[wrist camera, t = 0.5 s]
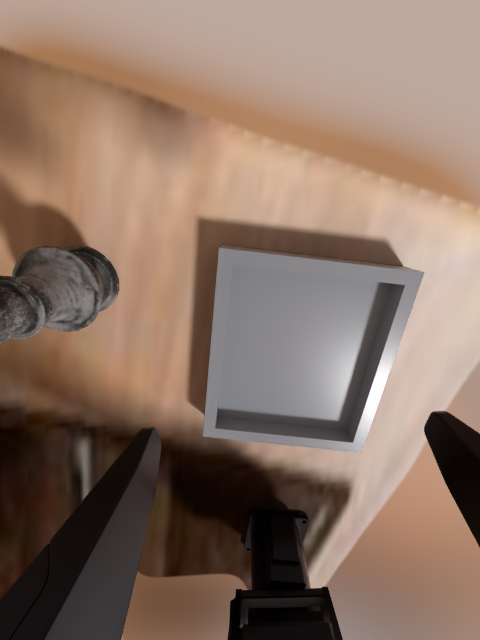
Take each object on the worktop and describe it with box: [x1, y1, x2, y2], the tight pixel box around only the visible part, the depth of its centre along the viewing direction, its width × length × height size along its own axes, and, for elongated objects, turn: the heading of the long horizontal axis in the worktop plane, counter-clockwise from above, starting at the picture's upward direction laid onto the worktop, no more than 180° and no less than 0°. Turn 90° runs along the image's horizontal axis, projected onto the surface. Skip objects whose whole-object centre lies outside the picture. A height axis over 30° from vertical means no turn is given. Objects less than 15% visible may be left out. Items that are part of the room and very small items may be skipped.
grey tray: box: [203, 245, 424, 453], centre depth 22 cm, size 16×14×2 cm
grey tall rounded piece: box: [0, 246, 119, 344], centre depth 16 cm, size 6×6×12 cm
